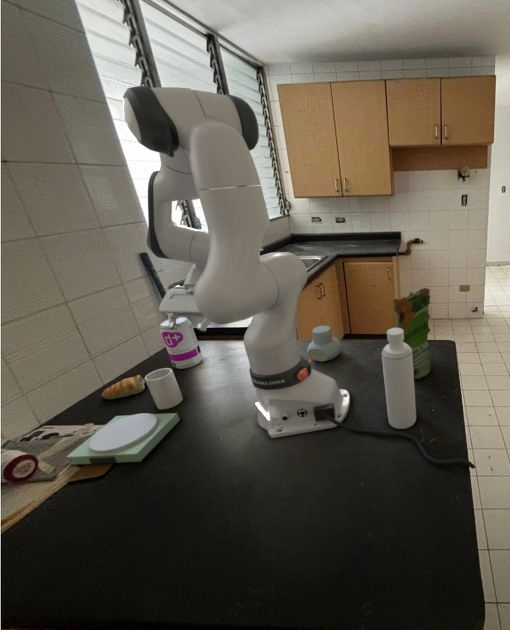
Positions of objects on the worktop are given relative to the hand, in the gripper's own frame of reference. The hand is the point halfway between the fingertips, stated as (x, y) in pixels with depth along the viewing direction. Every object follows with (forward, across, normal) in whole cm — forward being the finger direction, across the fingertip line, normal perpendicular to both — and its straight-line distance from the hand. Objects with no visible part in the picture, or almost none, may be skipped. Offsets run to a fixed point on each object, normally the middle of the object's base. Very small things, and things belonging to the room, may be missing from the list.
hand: (186, 329), depth 94 cm
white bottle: (+20, +64, +3) cm, 67 cm away
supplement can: (+6, -11, +17) cm, 21 cm away
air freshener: (+1, +33, +22) cm, 40 cm away
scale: (+30, +2, -7) cm, 30 cm away
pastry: (+18, -17, +5) cm, 25 cm away
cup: (+20, 0, +3) cm, 20 cm away
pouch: (+5, +63, +18) cm, 66 cm away
